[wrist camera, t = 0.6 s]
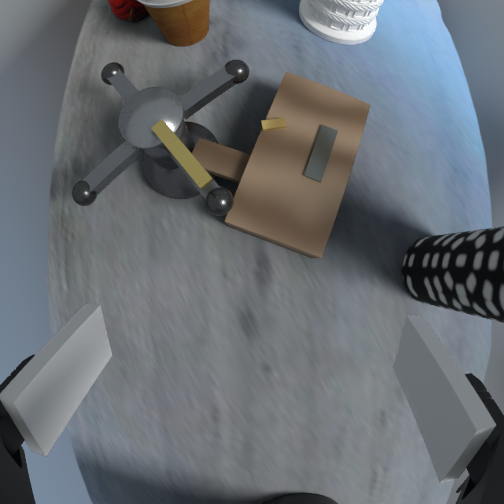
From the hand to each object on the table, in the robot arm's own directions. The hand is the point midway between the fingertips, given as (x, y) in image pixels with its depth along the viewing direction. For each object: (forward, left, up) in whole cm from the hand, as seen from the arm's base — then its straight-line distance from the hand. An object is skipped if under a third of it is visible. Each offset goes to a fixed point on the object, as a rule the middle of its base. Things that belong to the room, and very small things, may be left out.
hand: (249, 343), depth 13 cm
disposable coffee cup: (+30, +21, -23) cm, 43 cm away
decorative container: (+41, +2, -23) cm, 47 cm away
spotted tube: (+10, -20, -23) cm, 32 cm away
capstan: (+12, +14, -23) cm, 29 cm away
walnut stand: (+15, +3, -23) cm, 28 cm away
